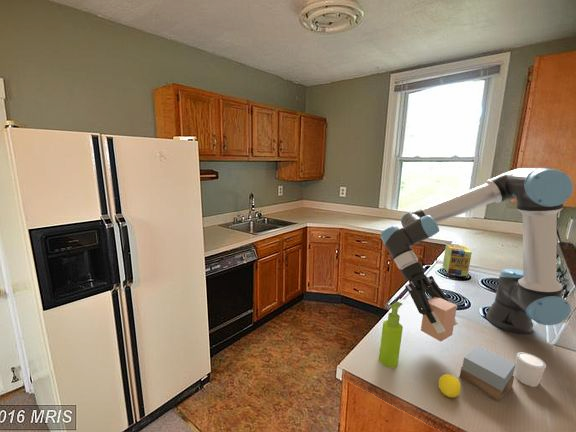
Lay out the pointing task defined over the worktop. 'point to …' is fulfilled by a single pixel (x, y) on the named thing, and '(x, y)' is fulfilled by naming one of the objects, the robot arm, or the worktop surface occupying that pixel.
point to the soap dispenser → (391, 338)
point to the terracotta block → (440, 318)
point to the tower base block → (485, 385)
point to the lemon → (449, 385)
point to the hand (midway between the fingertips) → (448, 328)
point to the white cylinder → (529, 369)
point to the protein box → (457, 259)
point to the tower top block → (488, 367)
